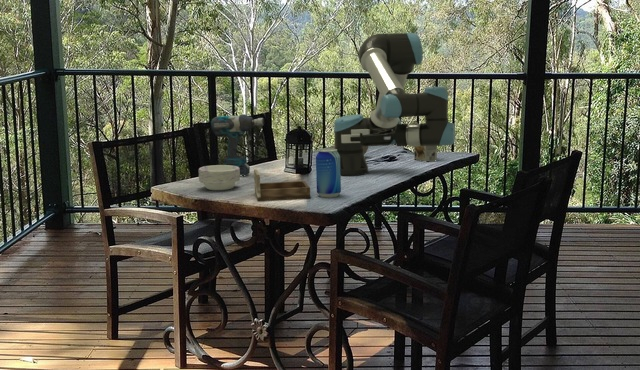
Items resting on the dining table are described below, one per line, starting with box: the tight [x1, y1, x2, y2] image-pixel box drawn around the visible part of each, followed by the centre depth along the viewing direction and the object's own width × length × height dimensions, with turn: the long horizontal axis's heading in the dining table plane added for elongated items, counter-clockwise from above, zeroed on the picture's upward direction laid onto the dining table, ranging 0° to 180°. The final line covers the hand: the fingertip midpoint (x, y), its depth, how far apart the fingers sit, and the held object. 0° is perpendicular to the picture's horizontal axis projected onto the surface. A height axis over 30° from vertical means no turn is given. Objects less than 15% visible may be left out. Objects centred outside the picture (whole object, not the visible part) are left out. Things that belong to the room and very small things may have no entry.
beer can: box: [315, 148, 342, 198], centre depth 272 cm, size 8×8×16 cm
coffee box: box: [413, 146, 438, 162], centre depth 348 cm, size 9×6×16 cm
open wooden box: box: [253, 168, 311, 202], centre depth 274 cm, size 18×14×9 cm
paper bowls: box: [198, 164, 241, 191], centre depth 293 cm, size 15×15×8 cm
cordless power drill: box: [210, 113, 265, 177], centre depth 320 cm, size 8×23×25 cm, turn 78°
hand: (346, 136), depth 269 cm, fingers open, 13 cm apart
